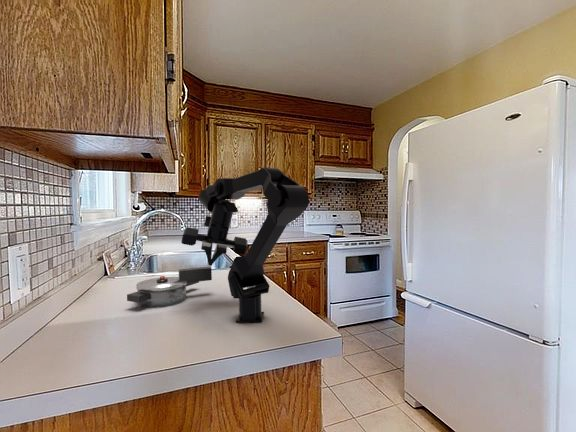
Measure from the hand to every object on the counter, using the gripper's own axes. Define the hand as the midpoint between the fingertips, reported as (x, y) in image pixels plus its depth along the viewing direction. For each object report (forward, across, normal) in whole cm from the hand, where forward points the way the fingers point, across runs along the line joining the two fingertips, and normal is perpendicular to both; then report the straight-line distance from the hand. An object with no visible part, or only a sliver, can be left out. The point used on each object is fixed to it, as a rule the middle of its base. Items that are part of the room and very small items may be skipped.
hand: (210, 264), depth 93 cm
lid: (+11, +9, -2) cm, 14 cm away
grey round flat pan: (+16, +10, -1) cm, 19 cm away
